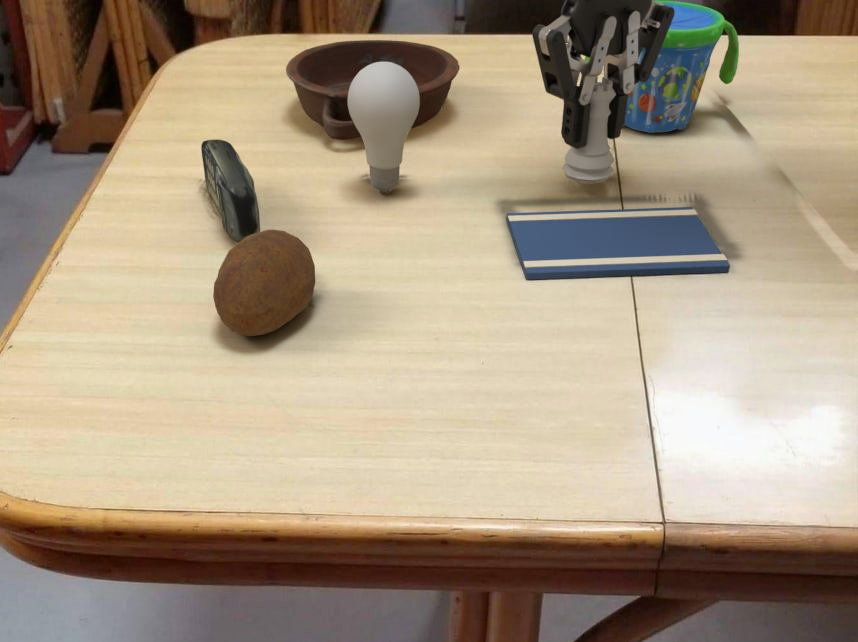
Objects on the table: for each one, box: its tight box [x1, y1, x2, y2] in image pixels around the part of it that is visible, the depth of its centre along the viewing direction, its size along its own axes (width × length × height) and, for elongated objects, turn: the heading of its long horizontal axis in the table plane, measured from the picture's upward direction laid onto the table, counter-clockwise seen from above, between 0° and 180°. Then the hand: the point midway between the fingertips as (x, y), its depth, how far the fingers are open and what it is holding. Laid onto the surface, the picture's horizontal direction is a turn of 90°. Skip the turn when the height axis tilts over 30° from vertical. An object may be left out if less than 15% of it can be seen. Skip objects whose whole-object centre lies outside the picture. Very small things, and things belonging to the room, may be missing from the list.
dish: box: [285, 39, 460, 141], centre depth 109 cm, size 18×22×5 cm
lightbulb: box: [347, 62, 420, 194], centre depth 92 cm, size 6×6×11 cm
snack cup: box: [584, 0, 740, 134], centre depth 105 cm, size 16×10×10 cm
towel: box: [505, 206, 731, 281], centre depth 87 cm, size 16×11×1 cm
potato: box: [212, 229, 316, 337], centre depth 77 cm, size 7×10×6 cm
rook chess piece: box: [562, 76, 616, 185], centre depth 92 cm, size 4×4×8 cm
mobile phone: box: [200, 139, 261, 243], centre depth 90 cm, size 5×3×15 cm
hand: (591, 139), depth 93 cm, fingers closed on rook chess piece, 3 cm apart
